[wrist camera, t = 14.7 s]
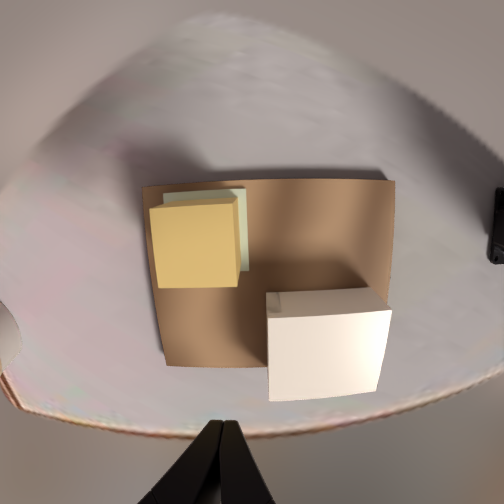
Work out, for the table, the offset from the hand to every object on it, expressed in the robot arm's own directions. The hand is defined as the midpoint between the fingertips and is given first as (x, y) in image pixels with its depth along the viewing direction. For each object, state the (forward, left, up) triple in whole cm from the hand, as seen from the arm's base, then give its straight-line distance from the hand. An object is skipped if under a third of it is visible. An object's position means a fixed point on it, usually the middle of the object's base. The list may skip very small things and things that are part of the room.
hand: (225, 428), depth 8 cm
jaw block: (+2, -4, -11) cm, 12 cm away
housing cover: (-5, +3, -11) cm, 13 cm away
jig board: (-2, 0, -12) cm, 13 cm away
